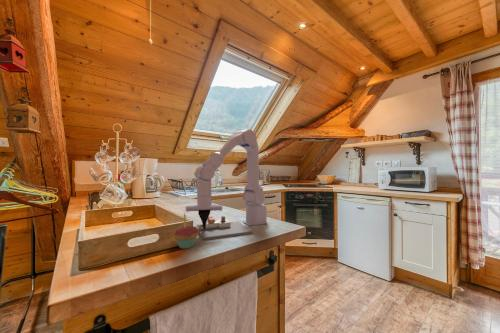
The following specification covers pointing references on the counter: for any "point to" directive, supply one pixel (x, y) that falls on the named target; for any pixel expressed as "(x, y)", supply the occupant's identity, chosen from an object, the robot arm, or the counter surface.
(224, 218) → the pintle
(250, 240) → the counter surface
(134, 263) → the counter surface
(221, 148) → the robot arm
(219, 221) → the link
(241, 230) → the board
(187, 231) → the cupcake
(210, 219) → the keeper
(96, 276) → the counter surface
